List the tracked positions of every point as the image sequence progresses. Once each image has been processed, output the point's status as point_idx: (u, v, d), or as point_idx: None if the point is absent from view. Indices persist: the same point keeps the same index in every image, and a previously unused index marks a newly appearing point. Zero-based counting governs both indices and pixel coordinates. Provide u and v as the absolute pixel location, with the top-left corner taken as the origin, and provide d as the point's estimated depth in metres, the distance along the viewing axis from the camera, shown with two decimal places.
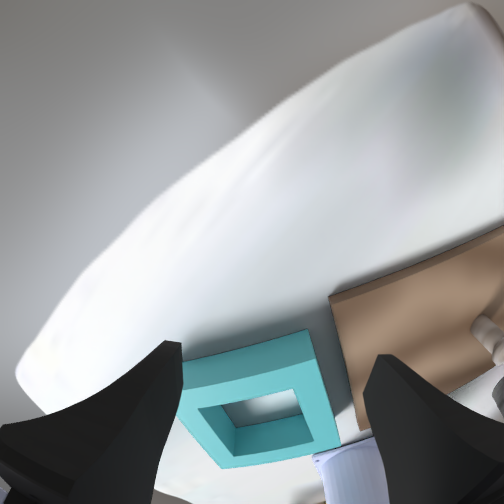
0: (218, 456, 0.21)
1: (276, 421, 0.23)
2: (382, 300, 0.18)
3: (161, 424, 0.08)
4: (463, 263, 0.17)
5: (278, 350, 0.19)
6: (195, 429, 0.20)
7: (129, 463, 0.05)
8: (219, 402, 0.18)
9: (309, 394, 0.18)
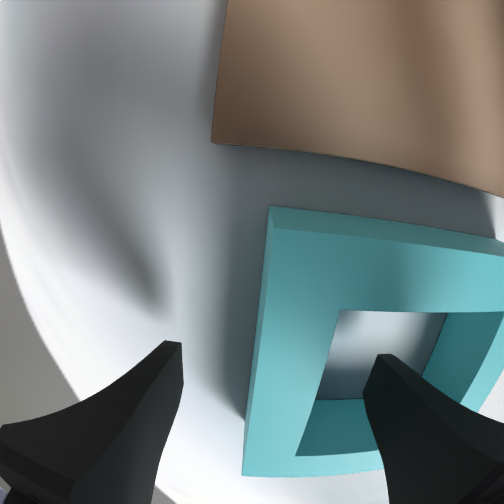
0: None
1: (441, 337, 0.12)
2: (254, 42, 0.07)
3: (161, 424, 0.07)
4: None
5: (263, 283, 0.10)
6: (339, 467, 0.10)
7: (129, 463, 0.05)
8: (296, 430, 0.09)
9: (383, 281, 0.07)
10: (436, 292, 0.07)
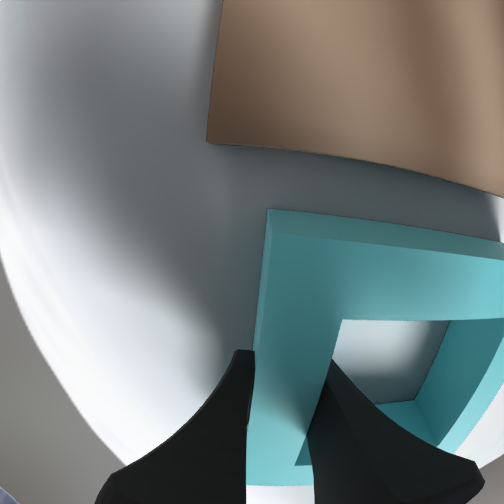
0: None
1: (444, 342, 0.11)
2: (252, 36, 0.07)
3: None
4: None
5: (261, 290, 0.09)
6: None
7: None
8: (295, 441, 0.09)
9: (388, 289, 0.07)
10: (442, 299, 0.07)
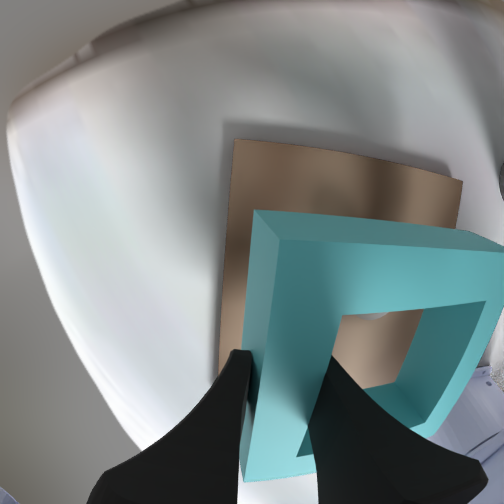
0: None
1: (420, 326, 0.13)
2: None
3: (240, 435, 0.08)
4: (237, 283, 0.18)
5: (255, 291, 0.09)
6: None
7: None
8: (298, 433, 0.09)
9: (382, 284, 0.07)
10: (428, 289, 0.08)
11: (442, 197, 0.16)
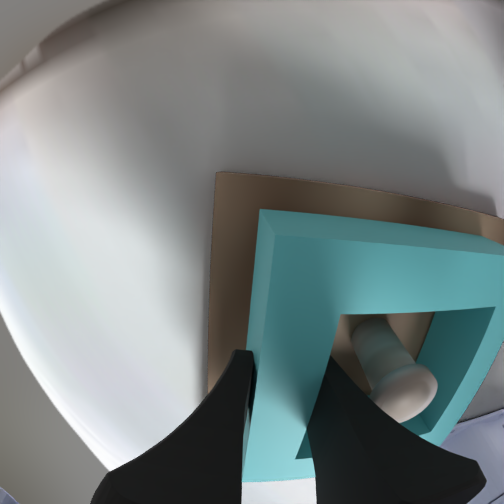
0: None
1: (430, 332, 0.12)
2: None
3: None
4: (225, 361, 0.13)
5: (257, 289, 0.09)
6: None
7: None
8: (296, 434, 0.09)
9: (382, 284, 0.07)
10: (432, 292, 0.08)
11: None
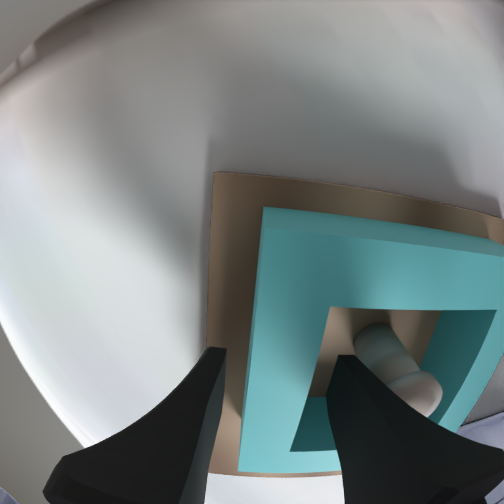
0: None
1: (434, 335, 0.12)
2: (224, 450, 0.15)
3: (212, 432, 0.08)
4: None
5: (257, 281, 0.10)
6: (334, 464, 0.10)
7: (197, 477, 0.05)
8: (290, 425, 0.09)
9: (372, 279, 0.08)
10: (425, 290, 0.08)
11: None
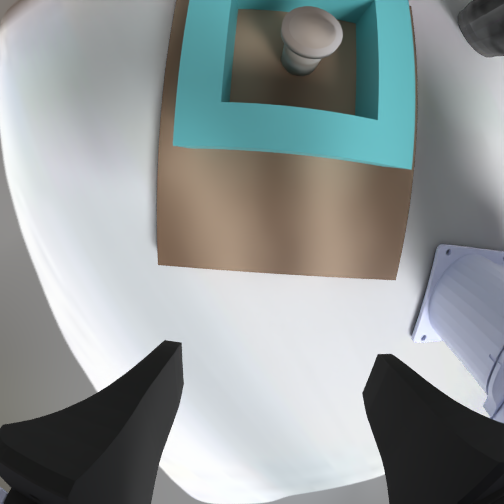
0: (370, 146, 0.12)
1: (357, 64, 0.13)
2: (173, 209, 0.16)
3: (161, 424, 0.08)
4: None
5: None
6: (272, 132, 0.12)
7: (129, 463, 0.05)
8: (217, 63, 0.11)
9: None
10: None
11: None
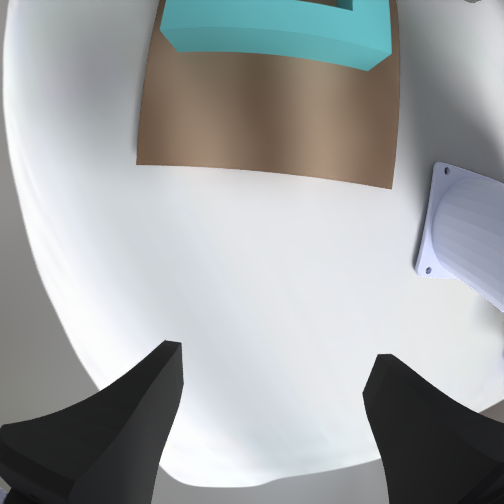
0: (347, 30, 0.10)
1: None
2: (157, 106, 0.15)
3: (161, 424, 0.08)
4: None
5: None
6: (252, 15, 0.10)
7: (129, 463, 0.05)
8: None
9: None
10: None
11: None
